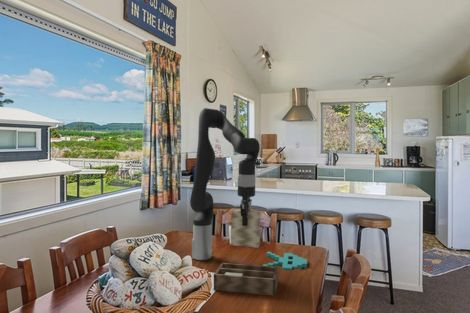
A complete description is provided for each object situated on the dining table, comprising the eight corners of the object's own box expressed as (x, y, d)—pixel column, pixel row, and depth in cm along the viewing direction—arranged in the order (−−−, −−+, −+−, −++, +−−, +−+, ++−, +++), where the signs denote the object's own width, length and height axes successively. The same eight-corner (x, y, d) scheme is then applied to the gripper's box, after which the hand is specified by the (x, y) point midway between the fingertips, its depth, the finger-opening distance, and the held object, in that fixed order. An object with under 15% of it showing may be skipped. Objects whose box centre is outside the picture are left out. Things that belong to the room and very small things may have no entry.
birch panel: (230, 245, 142) (231, 210, 141) (232, 243, 145) (233, 209, 144) (258, 247, 139) (259, 212, 138) (259, 245, 142) (260, 211, 141)
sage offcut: (223, 288, 130) (223, 276, 130) (225, 284, 134) (225, 272, 134) (240, 290, 128) (240, 277, 128) (242, 285, 132) (242, 273, 132)
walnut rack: (213, 292, 129) (213, 274, 129) (221, 278, 142) (221, 262, 141) (275, 298, 124) (275, 279, 124) (277, 283, 137) (278, 266, 136)
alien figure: (262, 270, 152) (307, 274, 148) (262, 265, 151) (307, 269, 147) (267, 256, 171) (306, 258, 167) (267, 251, 171) (306, 254, 167)
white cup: (238, 246, 185) (237, 228, 185) (226, 244, 190) (226, 226, 189) (245, 242, 192) (245, 225, 192) (233, 240, 196) (233, 224, 196)
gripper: (241, 182, 148) (240, 220, 149) (234, 186, 134) (233, 228, 135) (257, 183, 146) (256, 221, 147) (252, 187, 133) (251, 229, 134)
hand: (245, 224), depth 141 cm, fingers closed on birch panel, 3 cm apart
